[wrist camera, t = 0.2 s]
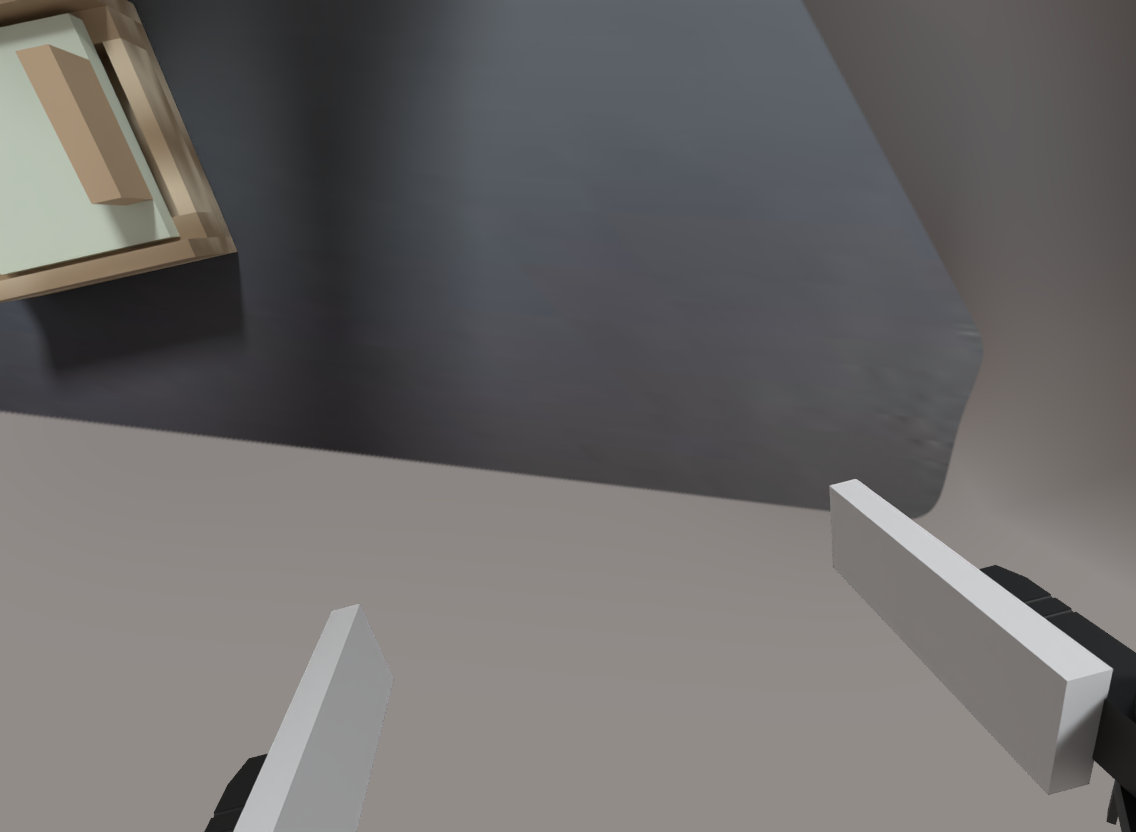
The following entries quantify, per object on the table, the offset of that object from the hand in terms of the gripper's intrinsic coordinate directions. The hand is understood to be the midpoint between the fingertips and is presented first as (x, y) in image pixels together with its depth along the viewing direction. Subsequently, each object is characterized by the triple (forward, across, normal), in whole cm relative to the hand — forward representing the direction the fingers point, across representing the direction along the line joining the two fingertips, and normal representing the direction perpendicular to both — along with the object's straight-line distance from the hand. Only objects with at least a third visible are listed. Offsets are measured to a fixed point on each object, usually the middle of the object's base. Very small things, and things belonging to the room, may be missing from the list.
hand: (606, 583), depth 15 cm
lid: (+25, -25, +19) cm, 40 cm away
